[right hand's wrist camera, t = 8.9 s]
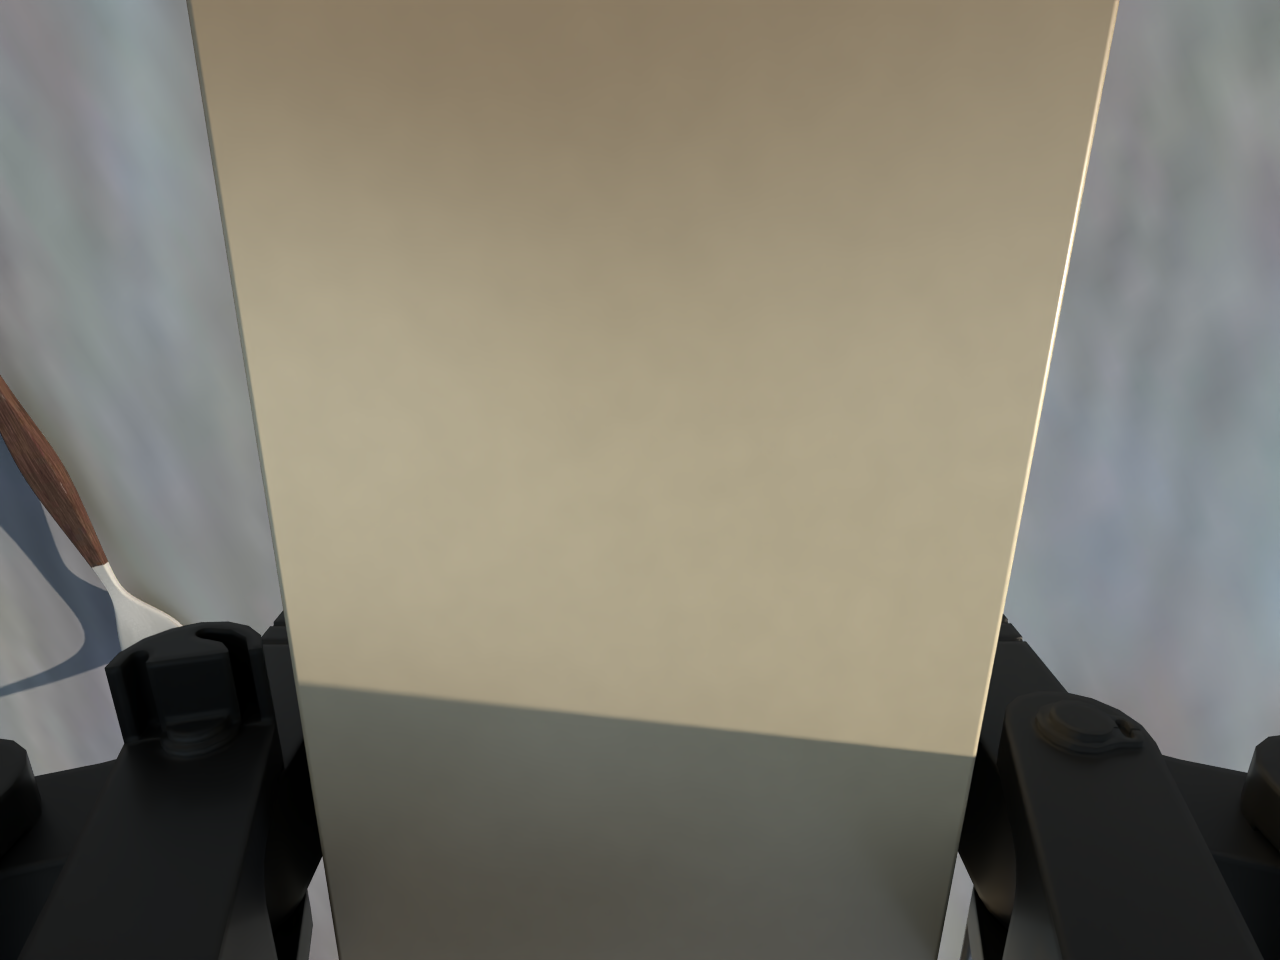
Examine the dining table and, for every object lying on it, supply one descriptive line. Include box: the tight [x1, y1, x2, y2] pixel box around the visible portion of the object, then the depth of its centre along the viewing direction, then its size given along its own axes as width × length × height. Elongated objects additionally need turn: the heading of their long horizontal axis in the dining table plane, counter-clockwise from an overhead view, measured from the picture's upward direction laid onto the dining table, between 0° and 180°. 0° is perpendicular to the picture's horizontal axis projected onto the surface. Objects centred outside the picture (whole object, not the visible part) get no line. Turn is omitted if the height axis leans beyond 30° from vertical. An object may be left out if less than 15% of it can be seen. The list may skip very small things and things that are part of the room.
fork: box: [0, 375, 182, 651], centre depth 26 cm, size 3×16×2 cm, turn 17°
